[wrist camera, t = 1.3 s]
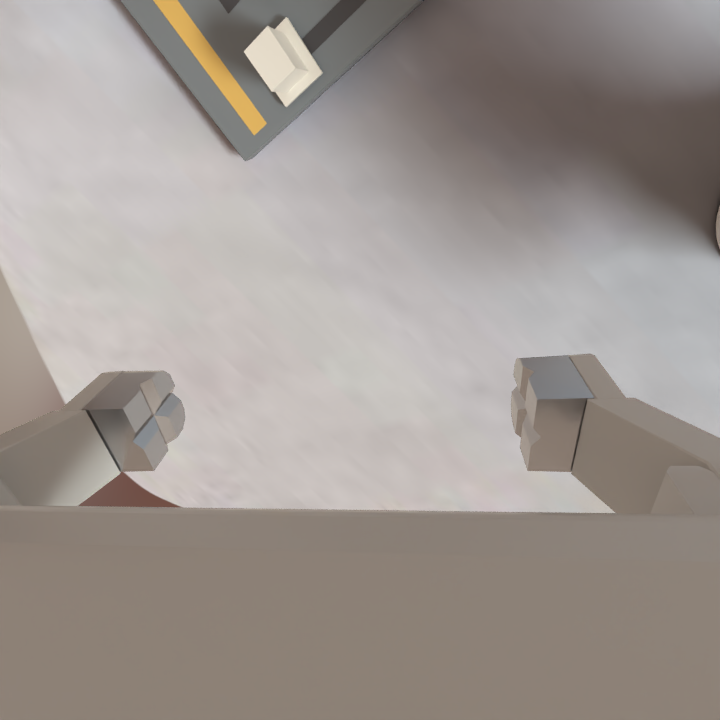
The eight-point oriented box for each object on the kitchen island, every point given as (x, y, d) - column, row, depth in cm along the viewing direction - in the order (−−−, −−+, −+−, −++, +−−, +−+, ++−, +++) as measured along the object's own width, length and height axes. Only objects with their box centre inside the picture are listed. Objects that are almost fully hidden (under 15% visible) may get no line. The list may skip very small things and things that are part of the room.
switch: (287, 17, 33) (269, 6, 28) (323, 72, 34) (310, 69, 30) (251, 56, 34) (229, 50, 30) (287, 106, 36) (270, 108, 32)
